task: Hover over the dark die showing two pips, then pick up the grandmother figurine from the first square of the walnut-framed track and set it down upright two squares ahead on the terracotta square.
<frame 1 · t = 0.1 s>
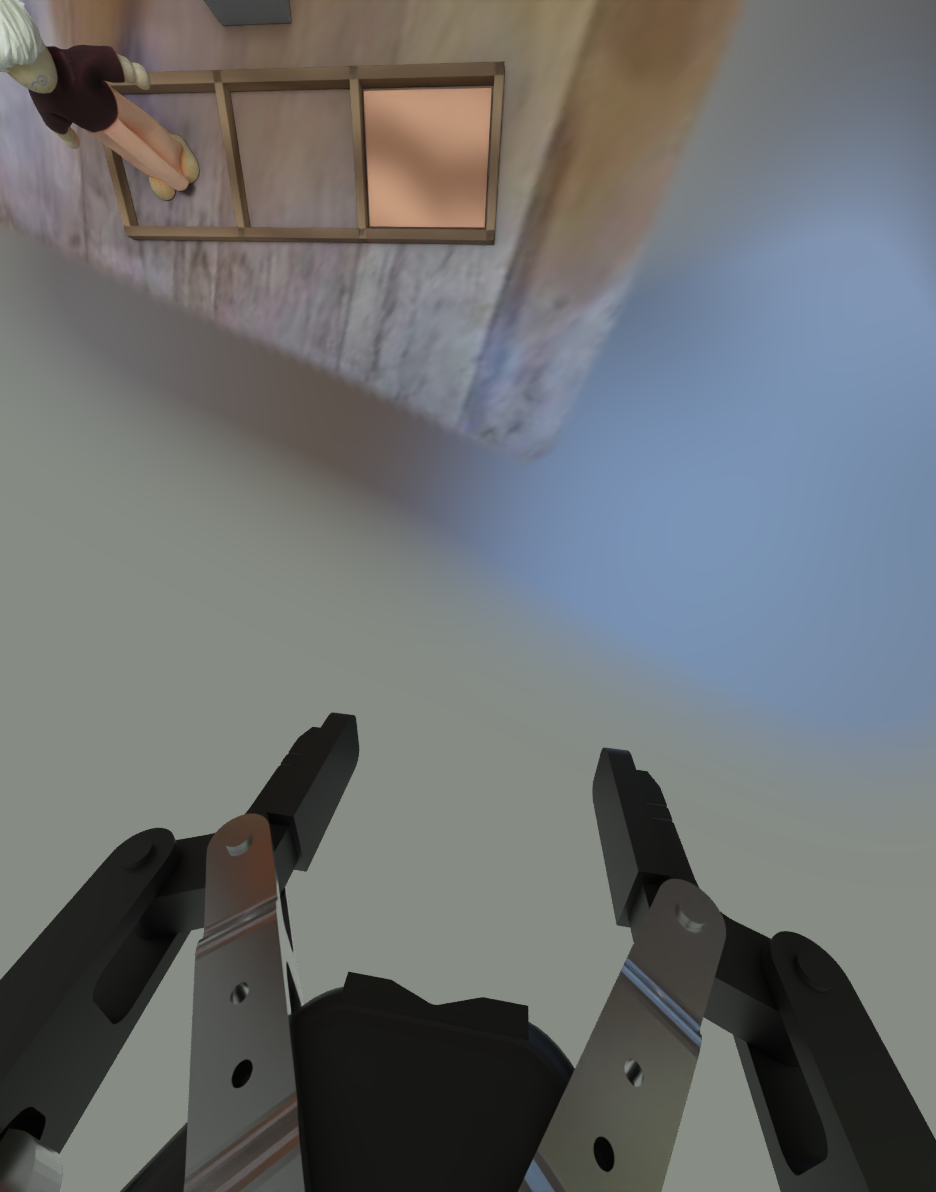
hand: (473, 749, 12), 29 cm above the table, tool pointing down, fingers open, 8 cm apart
grandmother figurine: (179, 167, 30), resting in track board
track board: (298, 165, 29), on the table
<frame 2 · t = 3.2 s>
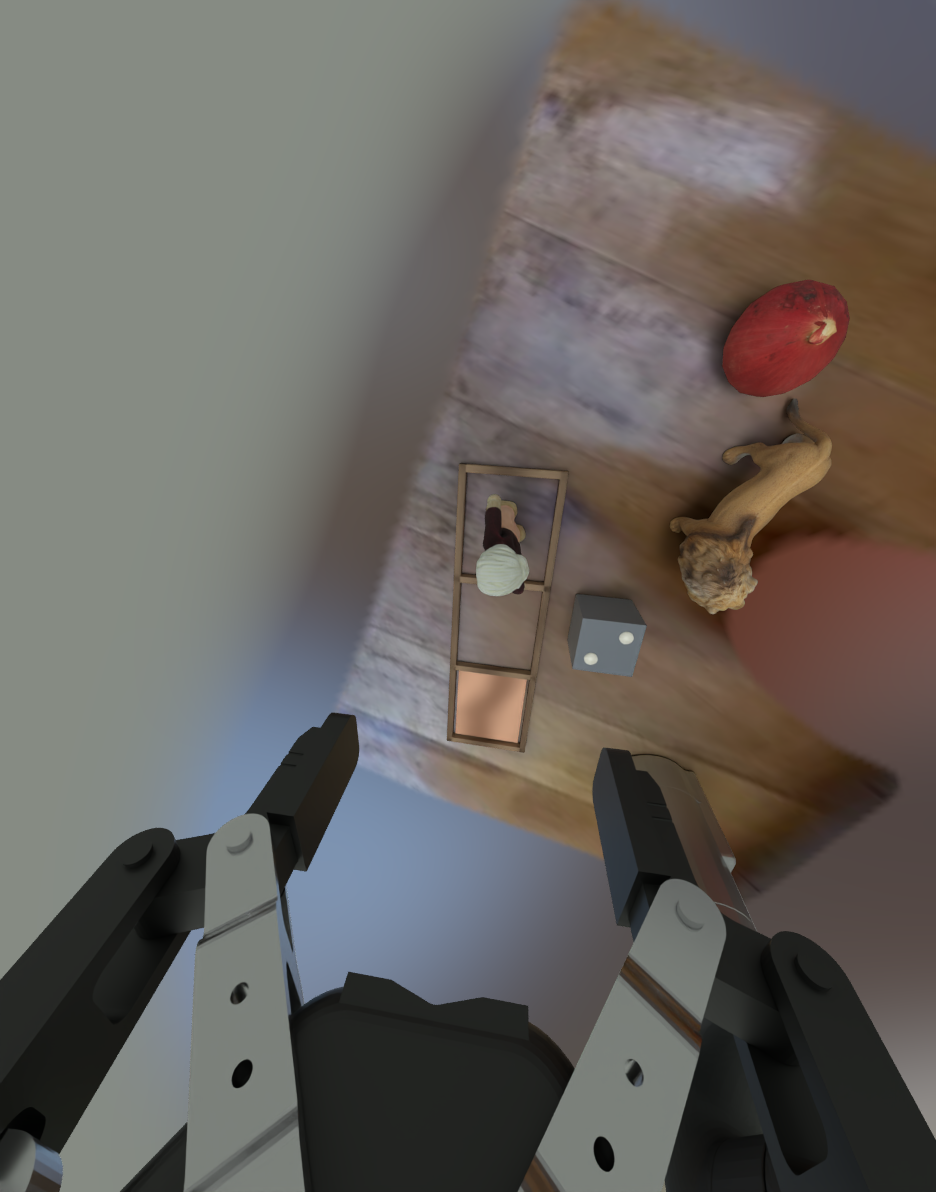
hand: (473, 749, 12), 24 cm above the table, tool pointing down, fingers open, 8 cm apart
red oval fruit: (747, 353, 27), on the table
die: (598, 620, 36), on the table
lion figurine: (721, 502, 31), on the table
grandmother figurine: (507, 528, 34), resting in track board
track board: (497, 626, 38), on the table
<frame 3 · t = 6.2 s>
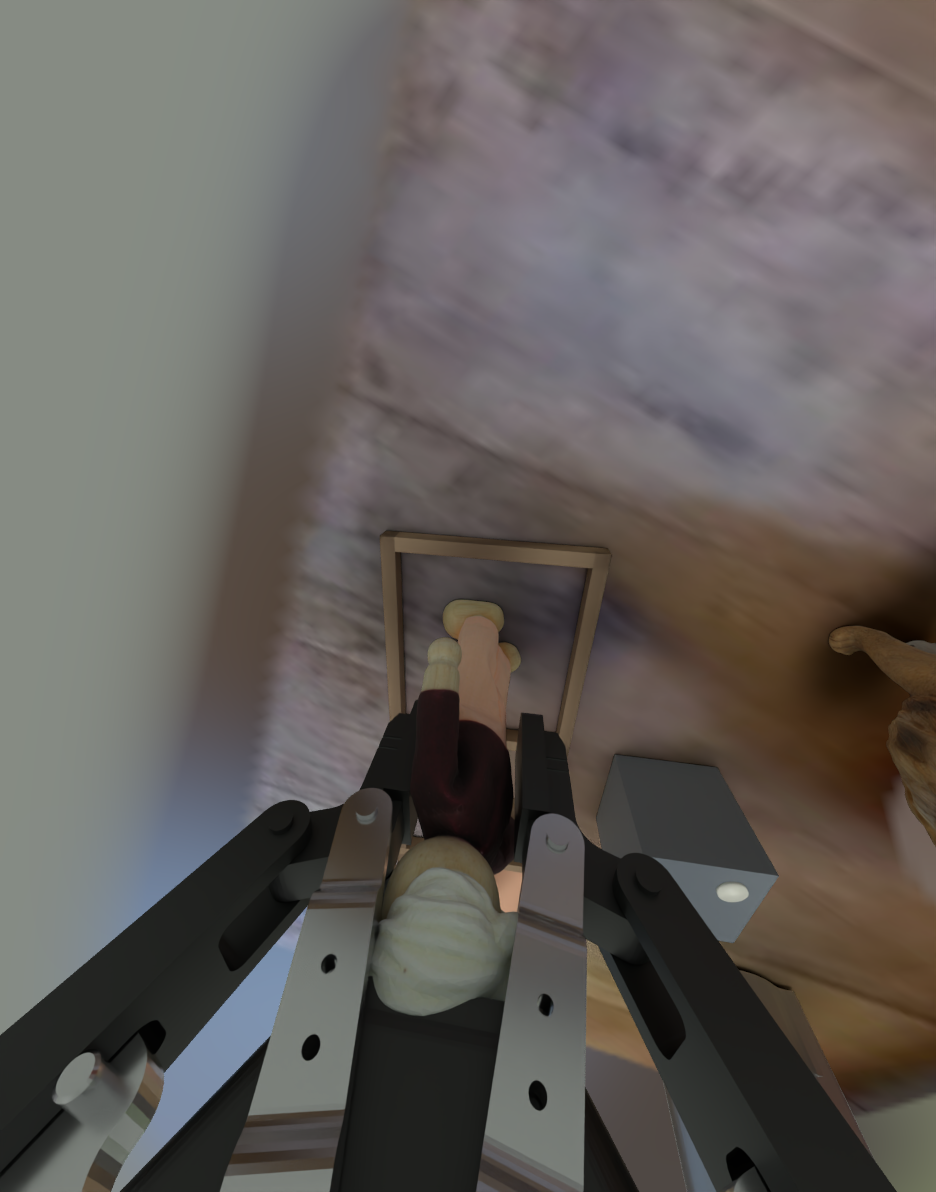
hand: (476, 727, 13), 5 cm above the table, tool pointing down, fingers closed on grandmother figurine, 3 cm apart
die: (652, 794, 20), on the table
grandmother figurine: (486, 647, 18), resting in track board, touching gripper
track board: (473, 794, 22), on the table
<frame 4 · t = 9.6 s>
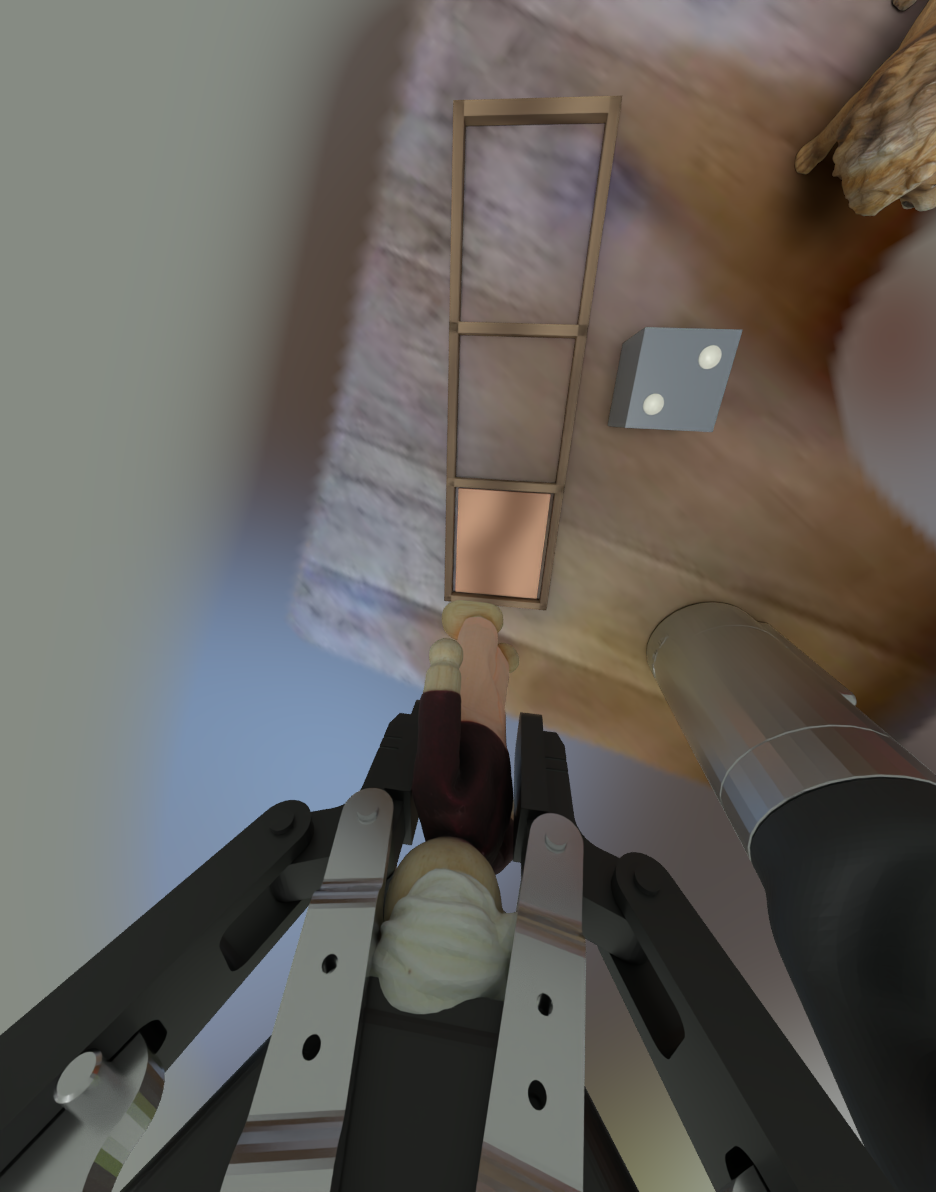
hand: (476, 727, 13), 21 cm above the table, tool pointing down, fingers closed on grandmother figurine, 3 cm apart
die: (652, 387, 26), on the table
lion figurine: (879, 104, 20), on the table
grandmother figurine: (484, 647, 18), point 16 cm above the table, touching gripper
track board: (510, 413, 28), on the table
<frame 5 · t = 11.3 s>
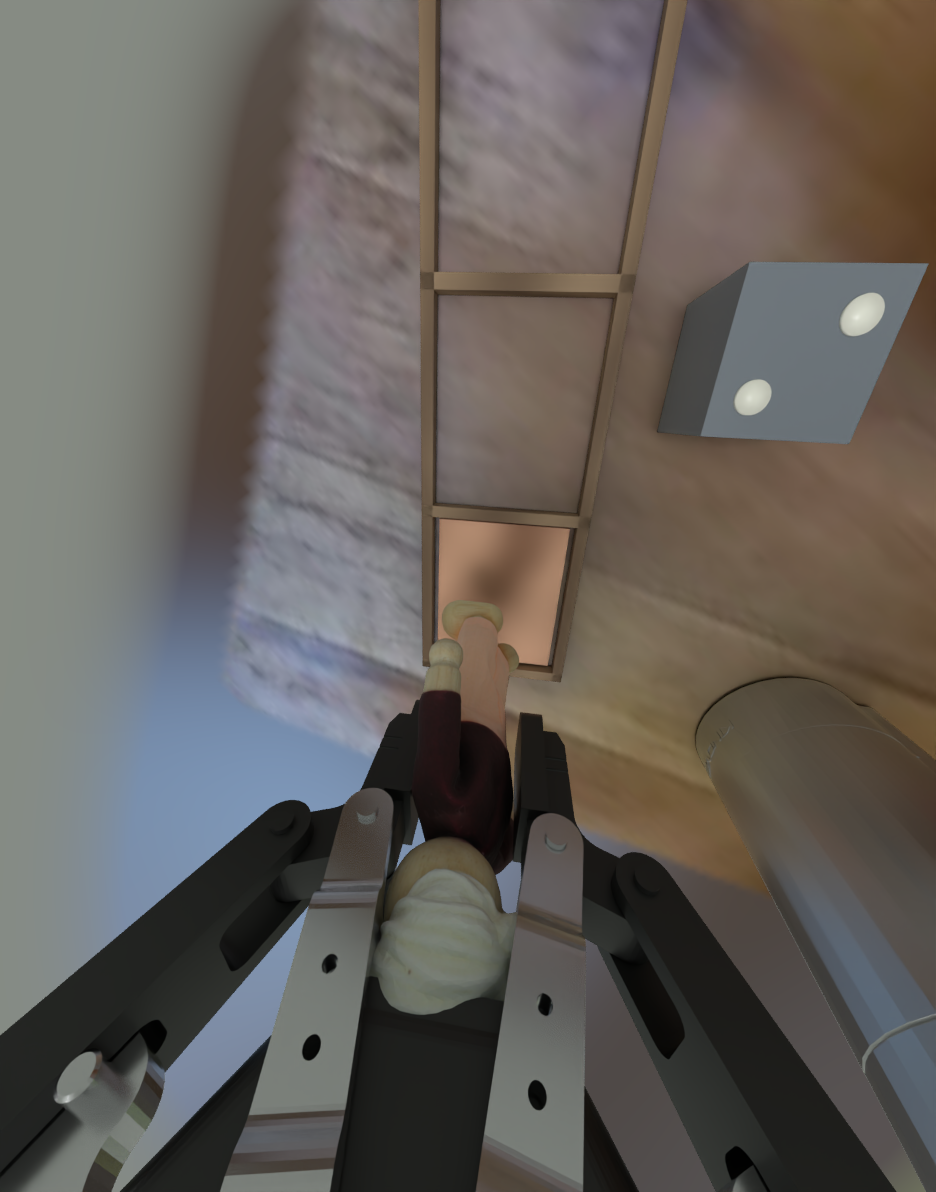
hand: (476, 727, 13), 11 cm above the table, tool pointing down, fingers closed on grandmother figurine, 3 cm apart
die: (729, 374, 17), on the table
grandmother figurine: (484, 647, 18), point 6 cm above the table, touching gripper
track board: (513, 413, 19), on the table
when the fingers open (6 cm above the table, at t = 12.9 s): grandmother figurine drops 1 cm, resting on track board.
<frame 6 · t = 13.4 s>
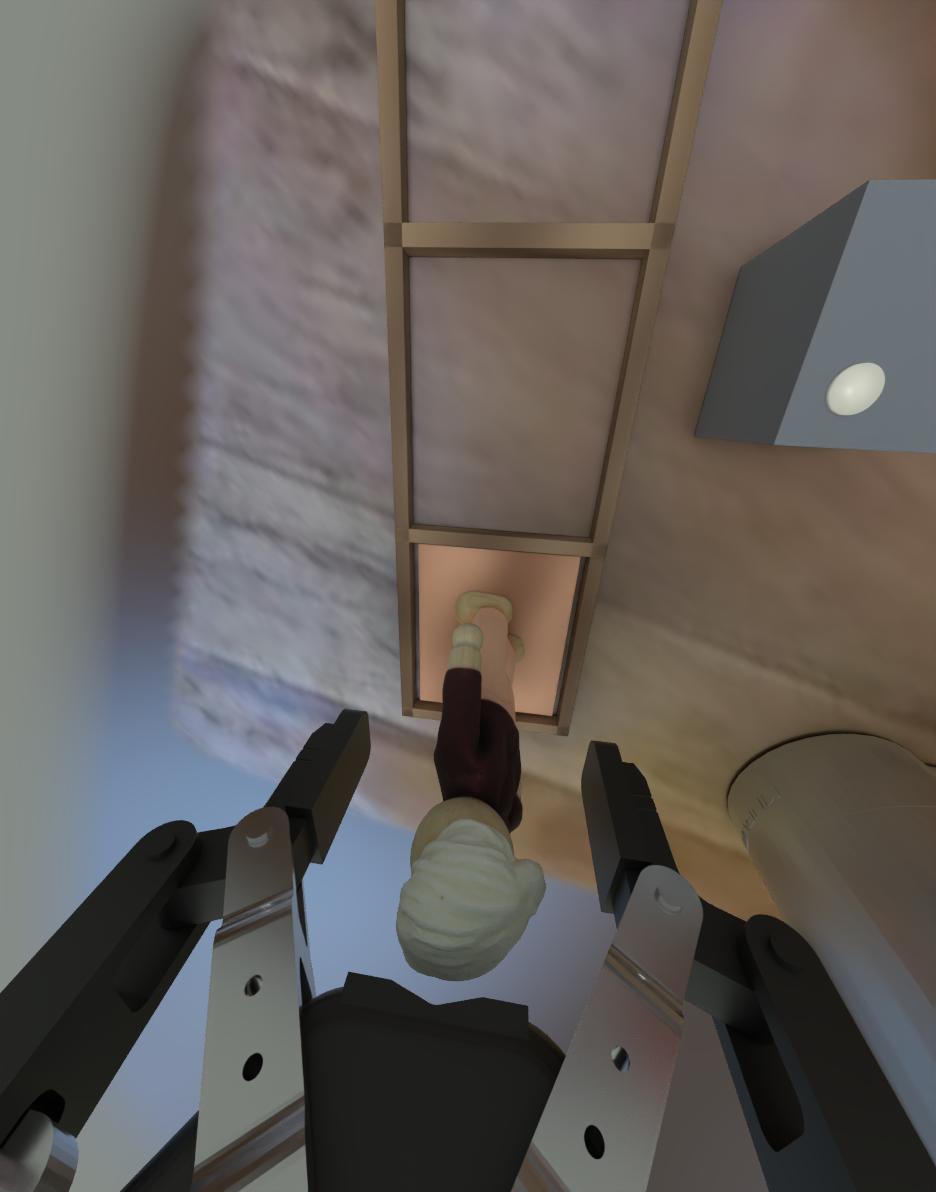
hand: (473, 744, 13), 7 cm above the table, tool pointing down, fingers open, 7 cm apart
die: (792, 361, 13), on the table
grandmother figurine: (492, 637, 19), resting on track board
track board: (509, 412, 15), on the table
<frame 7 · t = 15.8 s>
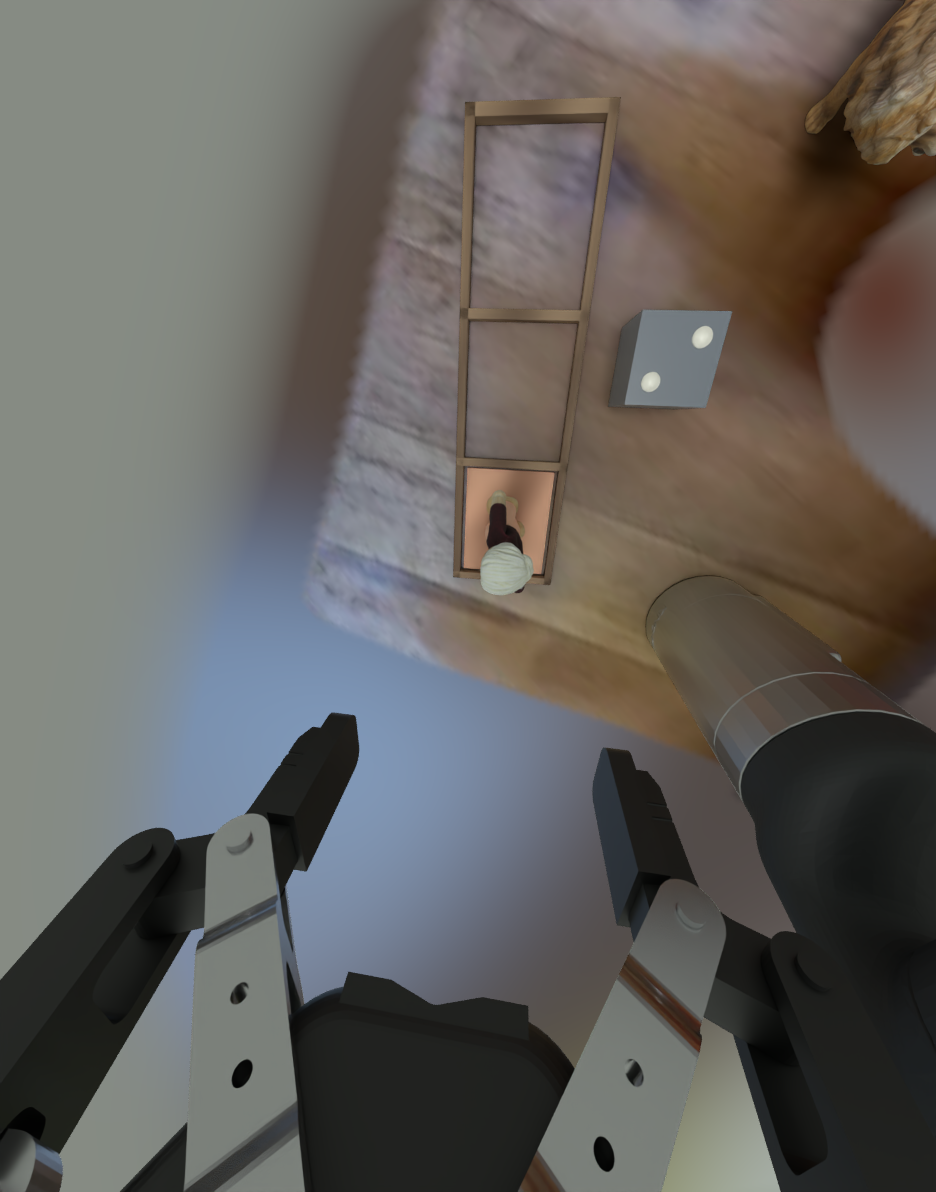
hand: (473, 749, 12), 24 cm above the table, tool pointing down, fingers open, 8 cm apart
die: (649, 369, 28), on the table
lion figurine: (884, 62, 21), on the table
grandmother figurine: (506, 524, 34), resting on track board
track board: (516, 395, 29), on the table
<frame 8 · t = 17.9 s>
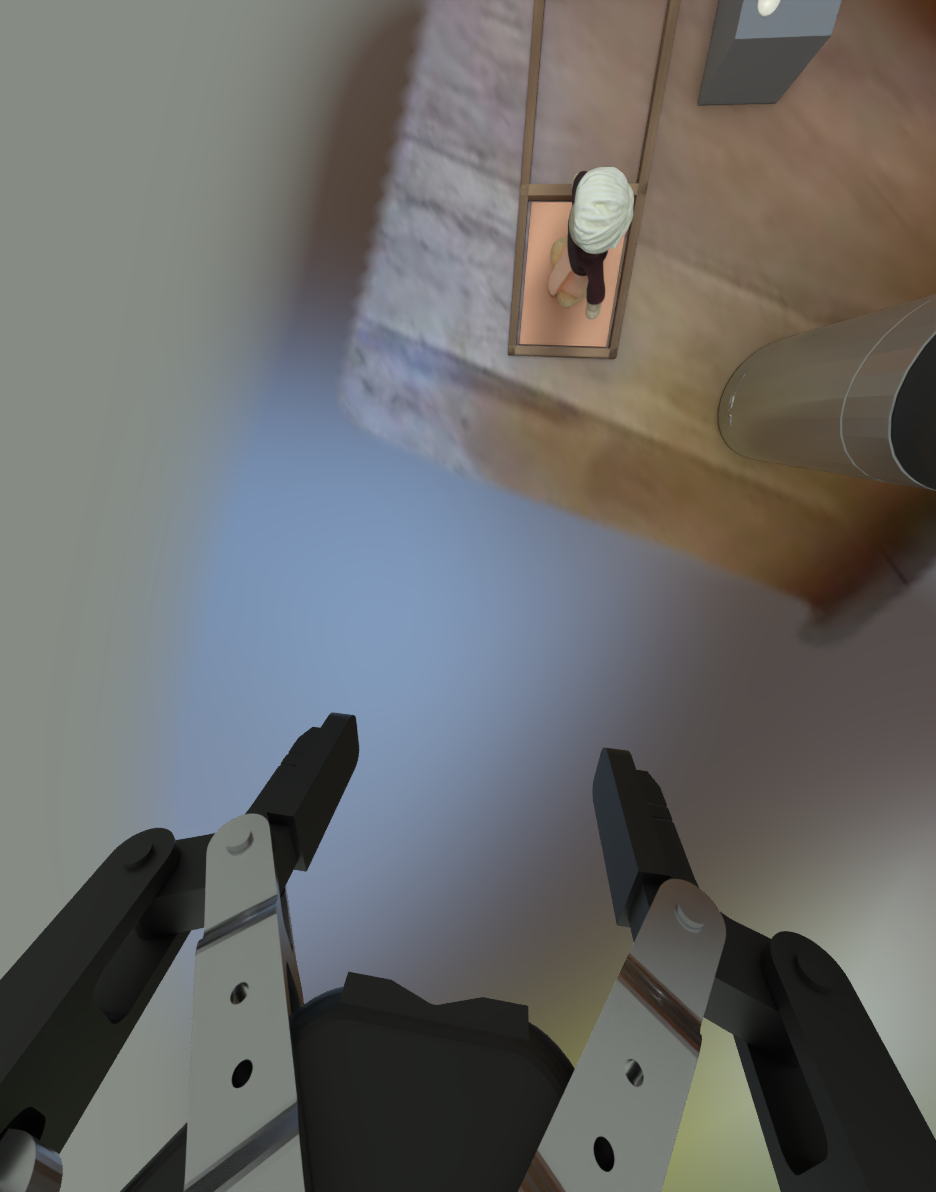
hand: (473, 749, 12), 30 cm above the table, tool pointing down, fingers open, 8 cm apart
die: (749, 47, 25), on the table
grandmother figurine: (571, 281, 30), resting on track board
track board: (593, 97, 26), on the table
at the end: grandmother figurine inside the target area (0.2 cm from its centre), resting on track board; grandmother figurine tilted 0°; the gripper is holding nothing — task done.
